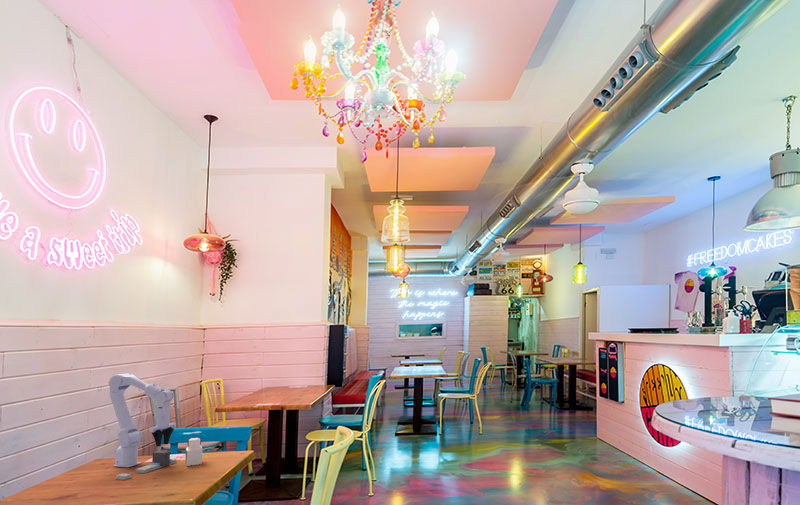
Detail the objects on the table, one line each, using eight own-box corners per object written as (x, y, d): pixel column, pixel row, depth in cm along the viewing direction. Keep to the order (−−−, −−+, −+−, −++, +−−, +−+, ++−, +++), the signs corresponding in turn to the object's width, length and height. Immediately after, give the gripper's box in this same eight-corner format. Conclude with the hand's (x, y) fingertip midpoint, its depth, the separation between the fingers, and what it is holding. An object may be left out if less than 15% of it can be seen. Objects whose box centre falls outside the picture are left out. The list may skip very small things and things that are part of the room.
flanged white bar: (115, 479, 217) (116, 474, 218) (168, 461, 245) (168, 457, 246) (124, 479, 216) (124, 474, 216) (176, 462, 244) (176, 457, 244)
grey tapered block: (152, 465, 238) (152, 452, 239) (158, 463, 241) (158, 450, 242) (163, 466, 235) (164, 453, 236) (169, 464, 239) (170, 451, 240)
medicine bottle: (185, 463, 242) (186, 437, 244) (201, 461, 245) (201, 435, 247) (185, 466, 236) (186, 440, 238) (202, 464, 239) (202, 438, 241)
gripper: (158, 418, 234) (156, 449, 231) (181, 413, 247) (180, 442, 245) (146, 418, 236) (145, 448, 234) (169, 413, 249) (168, 441, 247)
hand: (162, 445), depth 240 cm, fingers open, 4 cm apart
